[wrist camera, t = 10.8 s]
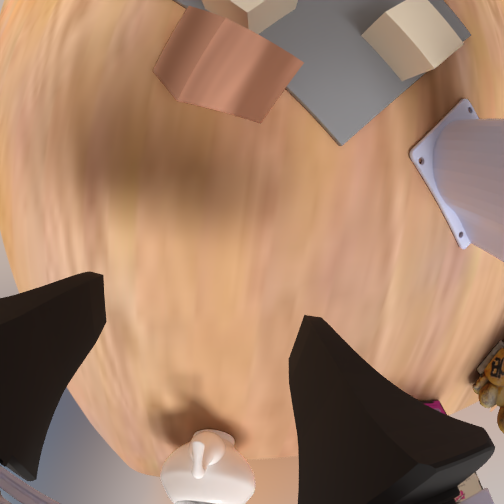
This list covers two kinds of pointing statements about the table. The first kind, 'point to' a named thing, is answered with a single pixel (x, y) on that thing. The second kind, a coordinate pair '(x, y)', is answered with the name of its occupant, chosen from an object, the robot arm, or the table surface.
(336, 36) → the puzzle board
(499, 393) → the decorative figurine
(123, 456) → the table surface
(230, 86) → the terracotta block
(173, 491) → the teapot
